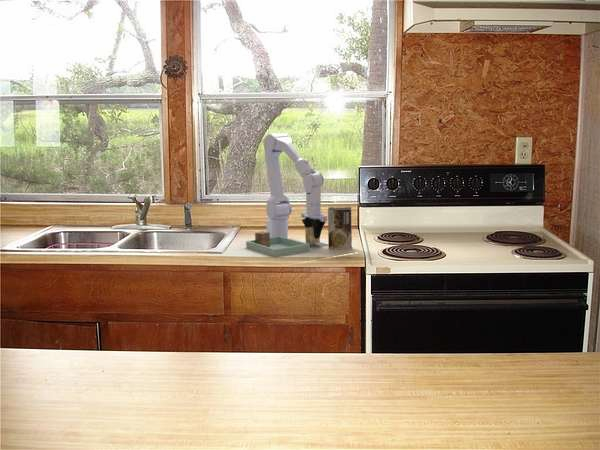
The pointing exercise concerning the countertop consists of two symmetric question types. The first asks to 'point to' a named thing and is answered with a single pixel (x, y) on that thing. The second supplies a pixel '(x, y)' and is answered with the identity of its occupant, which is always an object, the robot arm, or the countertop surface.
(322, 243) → the mat
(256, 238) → the walnut block
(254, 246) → the bin
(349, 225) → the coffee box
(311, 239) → the oak block
